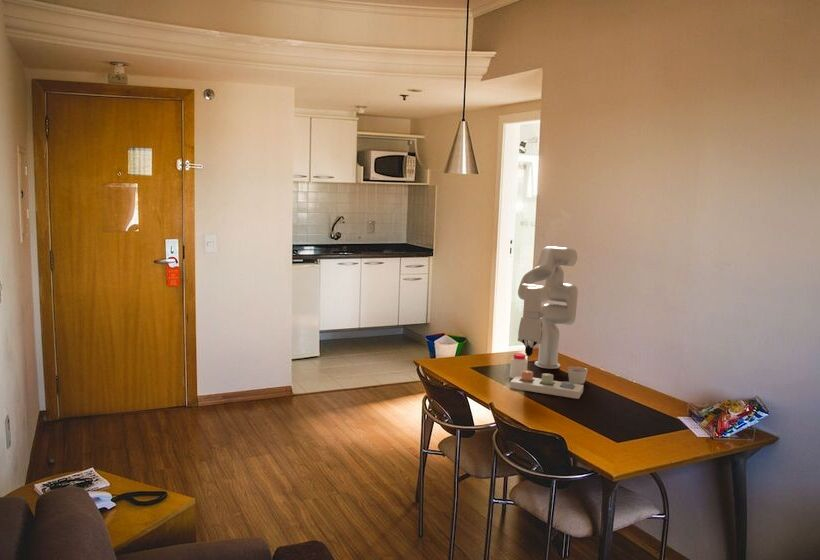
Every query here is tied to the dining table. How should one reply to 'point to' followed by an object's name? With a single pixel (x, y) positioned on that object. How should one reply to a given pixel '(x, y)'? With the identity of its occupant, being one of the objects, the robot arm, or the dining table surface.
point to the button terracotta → (527, 376)
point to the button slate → (567, 385)
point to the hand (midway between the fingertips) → (528, 355)
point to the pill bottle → (518, 365)
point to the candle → (577, 374)
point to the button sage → (547, 379)
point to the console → (547, 387)
